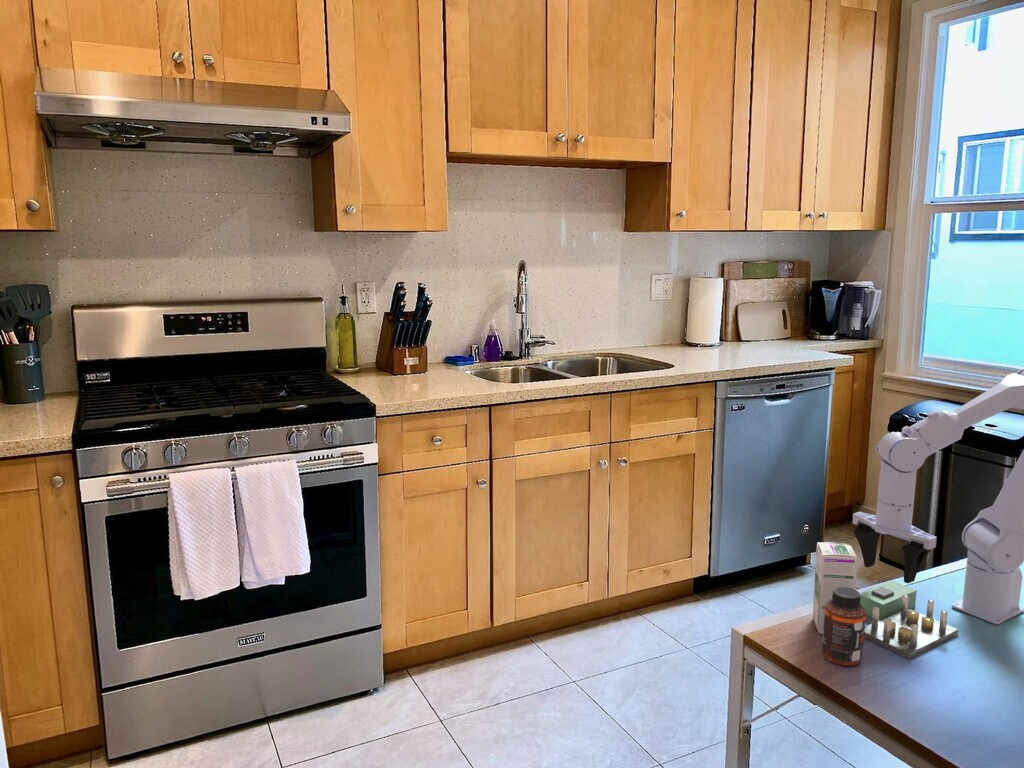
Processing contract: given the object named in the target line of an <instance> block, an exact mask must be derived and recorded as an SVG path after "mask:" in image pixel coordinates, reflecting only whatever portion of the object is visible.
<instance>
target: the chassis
mask: <svg viewBox="0 0 1024 768" xmlns="http://www.w3.org/2000/svg"><path fill="white" fill-rule="evenodd" d="M908 601H909V596H908V595H902V606H901V611H899V612H897V613H895V614H893V615H890V616H888V617H886V618H884V619H881V620H879V608H877V607H873V613H872V617H871V623H870V624H867V625H865V630H864V639H865V638H866V640H868V641H869V642H871V643H874V642H875V643H874V644H875V645H878V646H880V645H881V646H880V647H882V646H883V647H882V648H884V647H885V649H886V648H887V650H888V651H891V652H893V653H894V654H897V653H898V654H897V655H899V656H901V655H902V656H901V657H903V656H904V658H905V659H907V658H908V660H910V659H912V658H914V657H917V656H918V655H920V654H922V653H924V652H926V651H928V650H931V649H933V648H934V647H936V646H938V645H940V644H942V643H945V642H947V641H948V640H950V639H952V638H954V637H957V636H958V635H959V629H958V628H957V627H953V626H951V625H949V624H948V623H947V622H948V612H949V611H947V610H941V611H940V618H939V619H940V620H937V619H935V618H934V608H935V600H933V599H928V600H927V603H926V614H923V613H921V612H918V611H916V610H913V609H909V608H908Z"/></svg>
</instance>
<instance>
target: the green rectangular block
mask: <svg viewBox="0 0 1024 768" xmlns="http://www.w3.org/2000/svg"><path fill="white" fill-rule="evenodd" d="M859 593H860V604H861V605H862V606H863V607H864V608H865V611H866V616H868V617H871V618H872V613H873V607H877V608H879V620H881V619H884V618H886V617H888V616H890V615H893V614H895V613H897V612H899V611H901V606H902V595H908V596H909V601H908V608H909V609H911V610H913V609H914V608H916V602H917V590H916V589H914V588H912V587H908V586H907V585H905V584H902V583H900V582H896V581H894V580H890V581H888V582H885V583H883V584H880V585H877V586H875V587H872V588H870V589H867V590H865V591H863V592H859Z"/></svg>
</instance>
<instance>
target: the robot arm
mask: <svg viewBox="0 0 1024 768" xmlns="http://www.w3.org/2000/svg"><path fill="white" fill-rule="evenodd" d="M1009 409H1021V410H1024V367H1022V368H1020V369H1019V370H1017V371H1016V372H1013V373H1009V374H1007V375H1006V376H1005V377H1004V378H1003V380H1002V379H1001V381H1000V382H999V383H997V384H996V385H995V386H993V387H991V388H989V389H987V390H986V391H985V392H983V393H981V394H980V395H978V396H976V397H975V398H973V399H971V400H970V401H968V402H966V403H964V404H963V405H961V406H959V407H958V408H956V409H955V410H952V411H947V410H942V409H941V410H939V411H935V410H931V411H929V412H928V413H926V415H927V417H925V418H924V419H922V420H919V421H917V422H916V423H914V424H912V425H910V426H908V425H905V426H903V427H902V428H901V432H900V431H896V432H895V431H891V432H889V433H886V434H885V435H884V436H882V437H881V439H880V440H879V442H878V444H877V445H875V453H876V455H877V456H878V458H879V459H880V469H879V470H880V471H879V478H878V489H877V491H878V492H877V500H876V511H875V512H876V513H875V514H870V513H867V512H862V511H858V512H855V513H854V512H853V513H852V524H853V525H856V528H853V530H852V531H853V535H854V537H855V538H856V540H857V543H858V544H859V547H860V550H861V554H862V555H861V556H862V559H863V565H864V567H865V568H871V567H873V566H875V564H876V559H877V551H878V550H877V549H878V543H879V539H880V535H890V536H893V537H895V538H899V539H901V540H905V541H906V542H909V543H908V544H906V545H902V552H903V553H902V554H903V558H904V559H903V560H904V568H903V570H904V571H903V582H904V583H906V584H911V583H913V582H915V579H916V577H917V574H918V572H919V569H920V567H921V566H922V564H923V562H924V560H925V559H926V558H927V556H928V555H929V554H930V553H931V551H932V550H933V549H935V548H936V546H937V538H938V537H937V536H935V535H933V534H932V535H931V534H930V533H927V532H925V531H924V530H922V529H920V528H917V526H914V525H912V524H913V514H914V506H915V503H914V502H915V494H916V493H915V492H916V484H917V483H916V482H917V471H918V469H920V468H921V467H922V466H923V465H924V463H925V461H926V459H927V458H928V457H930V456H931V455H933V454H935V453H936V452H939V451H941V450H942V449H944V448H946V447H948V446H950V445H952V444H955V442H958V441H959V440H962V437H963V435H964V431H965V429H967V428H969V427H972V426H974V425H976V424H979V423H981V422H983V421H985V420H987V419H989V418H991V417H993V416H995V415H998V414H1000V413H1002V412H1006V411H1007V410H1009ZM961 541H962V543H963V546H965V548H966V549H967V558H966V566H965V567H966V568H965V576H964V584H963V585H964V587H963V593H962V599H959V600H958V601H955V602H953V603H952V604H951V607H952V608H954V609H955V610H958V611H961V612H963V613H966V614H969V615H971V616H973V617H977V618H979V619H981V620H984V621H987V622H989V623H992V624H993V625H1000V624H1002V623H1004V622H1006V621H1007V620H1009V619H1011V618H1013V617H1015V616H1018V615H1019V614H1021V613H1023V612H1024V607H1022V606H1020V601H1021V593H1022V585H1023V584H1022V582H1023V573H1022V570H1021V568H1020V567H1021V566H1022V564H1023V563H1024V449H1022V451H1021V454H1020V455H1019V457H1018V459H1017V461H1016V463H1015V464H1014V466H1013V468H1012V469H1011V471H1010V474H1009V475H1008V477H1007V479H1006V481H1005V483H1004V484H1003V485H1002V488H1001V490H1000V491H999V494H998V495H997V497H996V499H995V500H994V502H993V503H992V505H991V506H989V507H987V508H984V509H983V508H982V509H981V510H979V512H978V513H977V516H975V518H974V519H973V520H971V521H970V522H968V523H967V524H966V525H965V526H964V528H963V530H962V533H961Z"/></svg>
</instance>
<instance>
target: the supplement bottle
mask: <svg viewBox="0 0 1024 768" xmlns="http://www.w3.org/2000/svg"><path fill="white" fill-rule="evenodd" d="M860 593H861V592H859V591H858V590H855V589H852V588H848V587H837V588H835V589H834V590H833V595H832V598H833V599H831V600H829V601H828V602H827V603H826V606H825V617H824V631H823V634H822V655H823V657H824V658H825V659H826V660H828V661H829V662H831V663H833V664H835V665H839V666H843V667H853V666H857V665H860V663H861V662H862V660H863V656H864V655H863V653H864V642H865V638H864V630H865V626H866V618H867V617H866V616H867V615H866V611H865V608H864V607H863V606H862V605H861V604H860Z"/></svg>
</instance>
